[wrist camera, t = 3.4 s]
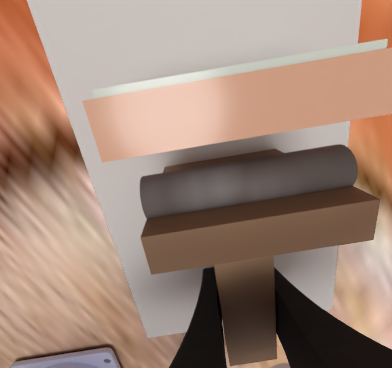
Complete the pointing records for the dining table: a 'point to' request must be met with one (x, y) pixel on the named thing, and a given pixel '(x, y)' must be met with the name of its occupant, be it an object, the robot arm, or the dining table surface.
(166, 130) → the tile
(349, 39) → the mat
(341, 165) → the pusher
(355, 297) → the dining table surface
